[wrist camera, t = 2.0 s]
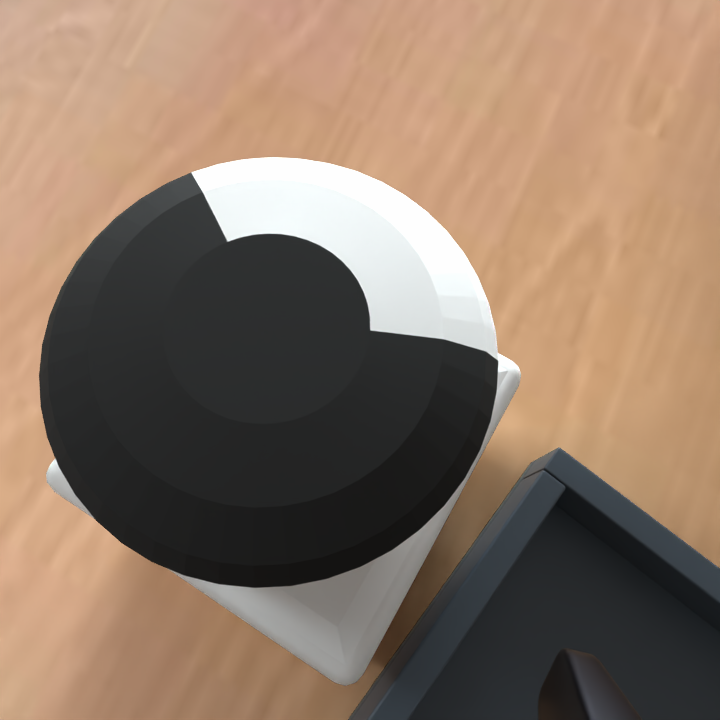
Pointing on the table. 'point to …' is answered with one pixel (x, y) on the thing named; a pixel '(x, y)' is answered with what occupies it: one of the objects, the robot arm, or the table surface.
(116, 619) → the table surface
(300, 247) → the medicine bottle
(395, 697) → the tray
